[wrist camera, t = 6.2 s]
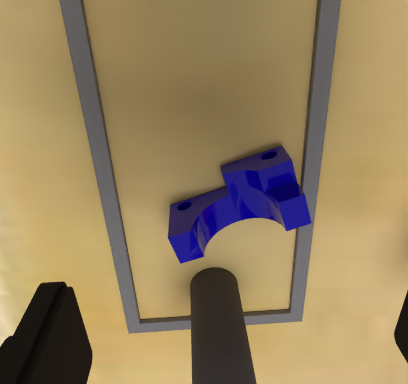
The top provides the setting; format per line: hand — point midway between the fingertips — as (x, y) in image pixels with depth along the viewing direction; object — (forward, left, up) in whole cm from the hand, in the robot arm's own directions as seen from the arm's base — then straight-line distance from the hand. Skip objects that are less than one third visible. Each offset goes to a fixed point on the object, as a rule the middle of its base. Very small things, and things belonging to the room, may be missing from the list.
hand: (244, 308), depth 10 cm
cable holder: (+3, +1, -14) cm, 14 cm away
